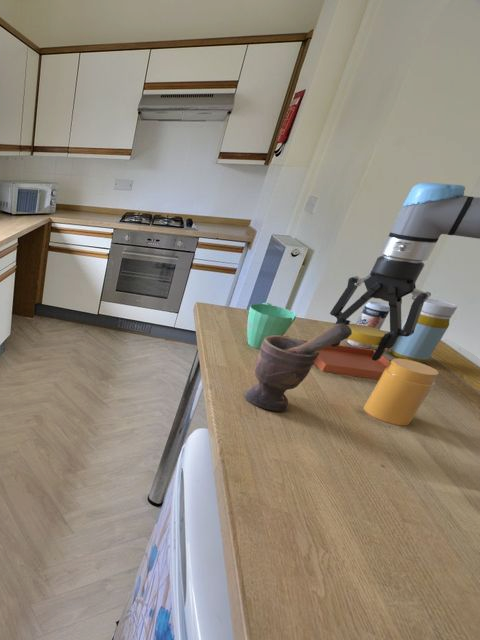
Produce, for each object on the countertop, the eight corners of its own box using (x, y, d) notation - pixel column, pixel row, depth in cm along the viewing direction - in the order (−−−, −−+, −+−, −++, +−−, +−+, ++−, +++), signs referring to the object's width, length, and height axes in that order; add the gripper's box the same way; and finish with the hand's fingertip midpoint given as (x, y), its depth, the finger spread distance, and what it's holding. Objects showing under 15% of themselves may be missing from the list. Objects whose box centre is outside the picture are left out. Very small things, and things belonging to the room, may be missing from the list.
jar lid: (335, 335, 99) (339, 326, 98) (348, 330, 102) (352, 321, 101) (374, 347, 93) (379, 338, 92) (387, 341, 96) (392, 333, 95)
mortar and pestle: (315, 412, 80) (362, 318, 72) (302, 428, 75) (352, 330, 66) (250, 386, 88) (285, 299, 79) (234, 400, 83) (271, 308, 74)
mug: (284, 357, 102) (300, 321, 97) (239, 348, 106) (252, 312, 101) (274, 336, 114) (288, 303, 109) (234, 329, 118) (246, 296, 113)
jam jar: (395, 408, 83) (423, 361, 78) (418, 428, 77) (451, 378, 72) (356, 402, 84) (381, 355, 80) (376, 421, 78) (405, 371, 74)
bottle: (389, 357, 105) (419, 302, 99) (389, 348, 110) (418, 296, 103) (427, 366, 101) (461, 310, 95) (425, 357, 106) (458, 303, 99)
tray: (371, 356, 105) (375, 349, 104) (409, 384, 93) (414, 376, 92) (295, 346, 109) (298, 339, 108) (322, 371, 96) (325, 364, 95)
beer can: (341, 341, 113) (362, 300, 108) (357, 341, 113) (377, 301, 108) (358, 349, 108) (380, 307, 103) (374, 349, 109) (396, 307, 104)
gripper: (338, 249, 95) (300, 338, 105) (463, 272, 80) (404, 374, 89) (352, 247, 99) (313, 333, 109) (474, 268, 83) (416, 367, 93)
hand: (354, 351), depth 99 cm, fingers closed on jar lid, 7 cm apart
